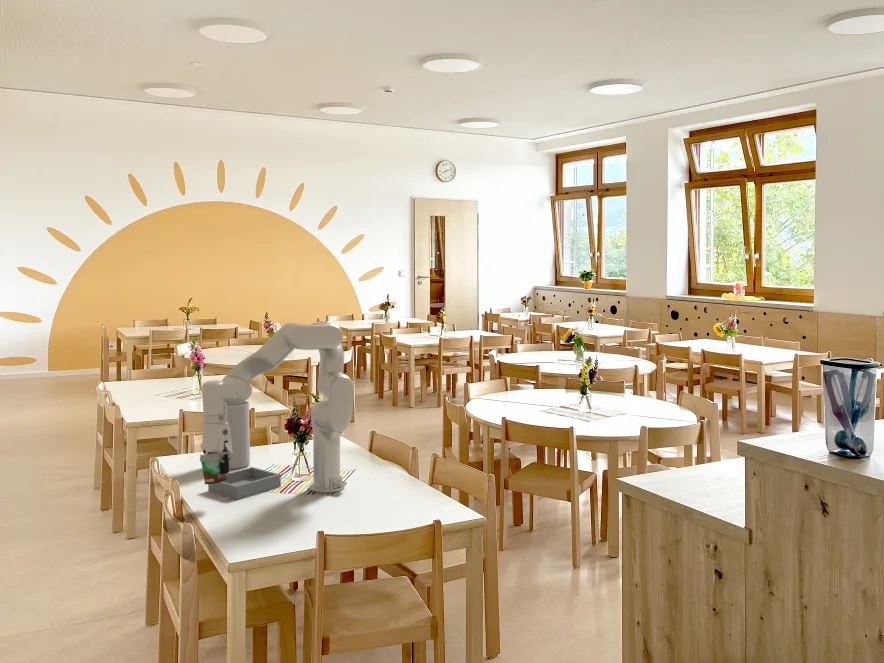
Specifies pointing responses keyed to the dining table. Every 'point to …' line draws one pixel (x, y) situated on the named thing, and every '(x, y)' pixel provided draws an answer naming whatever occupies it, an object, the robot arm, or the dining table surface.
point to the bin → (246, 483)
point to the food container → (212, 468)
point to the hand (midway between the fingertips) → (217, 471)
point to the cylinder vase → (239, 433)
